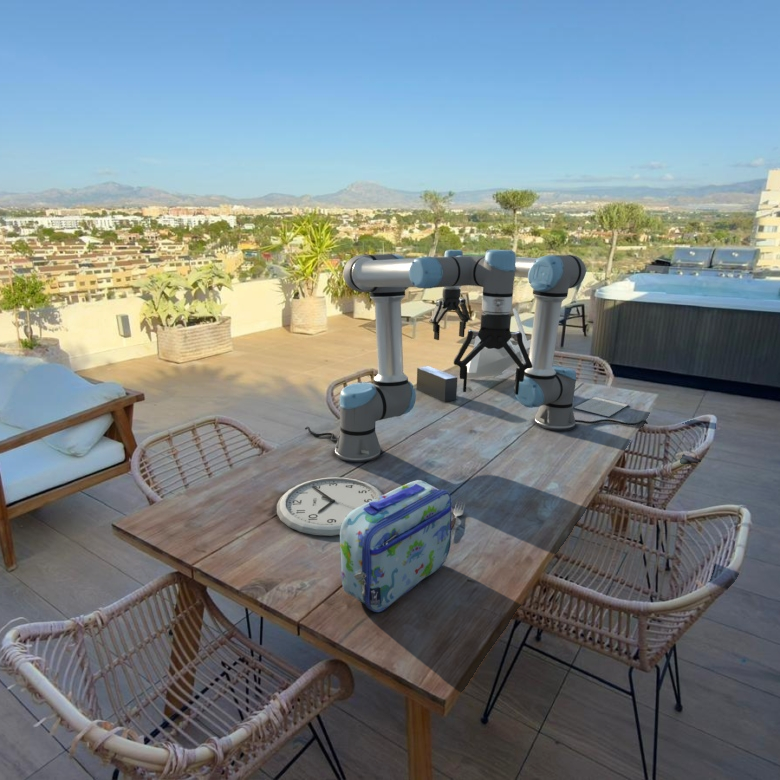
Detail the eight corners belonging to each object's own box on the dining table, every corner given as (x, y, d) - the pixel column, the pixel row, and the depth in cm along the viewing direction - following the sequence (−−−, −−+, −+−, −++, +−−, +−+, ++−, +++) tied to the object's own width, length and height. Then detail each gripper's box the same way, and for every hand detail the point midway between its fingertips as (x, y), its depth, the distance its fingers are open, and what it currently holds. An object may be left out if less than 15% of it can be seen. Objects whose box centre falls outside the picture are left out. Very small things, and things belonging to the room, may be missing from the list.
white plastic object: (482, 420, 263) (461, 397, 239) (463, 347, 285) (443, 319, 261) (554, 396, 251) (539, 370, 226) (528, 322, 273) (513, 290, 249)
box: (456, 399, 232) (457, 377, 229) (444, 402, 229) (445, 379, 226) (427, 387, 250) (428, 366, 247) (416, 389, 246) (417, 367, 243)
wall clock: (392, 527, 129) (268, 531, 127) (391, 533, 130) (269, 537, 127) (383, 473, 158) (282, 475, 155) (383, 478, 158) (282, 480, 156)
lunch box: (369, 626, 100) (370, 530, 93) (334, 598, 107) (332, 507, 101) (455, 567, 117) (460, 483, 111) (419, 547, 124) (423, 467, 118)
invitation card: (608, 416, 214) (573, 407, 224) (608, 416, 214) (573, 408, 224) (628, 404, 229) (594, 396, 238) (628, 405, 229) (594, 397, 238)
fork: (441, 537, 129) (441, 530, 128) (456, 506, 143) (456, 499, 142) (451, 539, 128) (452, 532, 127) (465, 508, 142) (466, 501, 142)
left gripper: (447, 313, 131) (443, 393, 137) (549, 316, 128) (540, 398, 135) (447, 308, 138) (443, 385, 144) (544, 311, 135) (535, 390, 142)
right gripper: (468, 285, 228) (466, 333, 234) (422, 288, 215) (420, 339, 222) (480, 287, 222) (477, 336, 228) (433, 290, 209) (430, 342, 216)
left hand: (490, 391), depth 140 cm, fingers open, 13 cm apart
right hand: (449, 338), depth 225 cm, fingers open, 13 cm apart
